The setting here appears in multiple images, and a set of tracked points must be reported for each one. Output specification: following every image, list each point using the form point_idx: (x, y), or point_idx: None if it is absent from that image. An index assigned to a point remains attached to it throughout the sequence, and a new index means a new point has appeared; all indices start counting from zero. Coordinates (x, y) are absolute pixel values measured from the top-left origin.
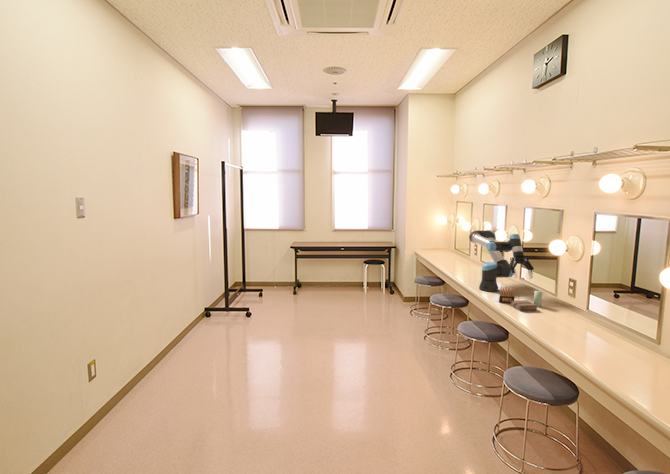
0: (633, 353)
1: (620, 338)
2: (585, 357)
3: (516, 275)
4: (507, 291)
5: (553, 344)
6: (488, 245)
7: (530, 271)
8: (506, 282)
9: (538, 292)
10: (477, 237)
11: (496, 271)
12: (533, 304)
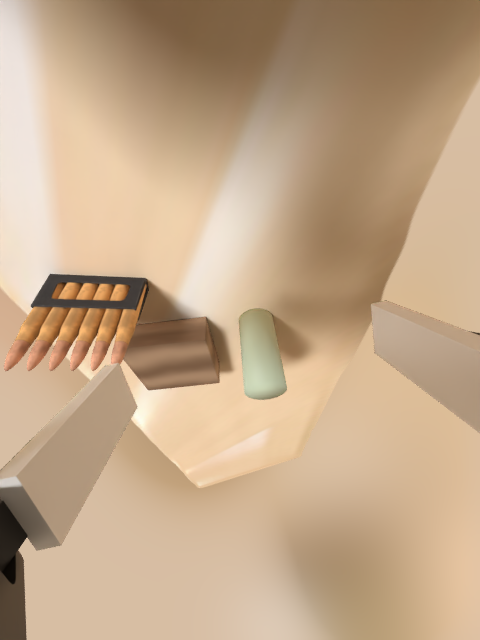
0: (271, 455)
1: (301, 437)
2: (198, 464)
3: (124, 422)
4: (77, 341)
5: (170, 455)
6: None
7: (461, 416)
8: None
9: (258, 397)
10: None
11: None
12: (210, 376)
